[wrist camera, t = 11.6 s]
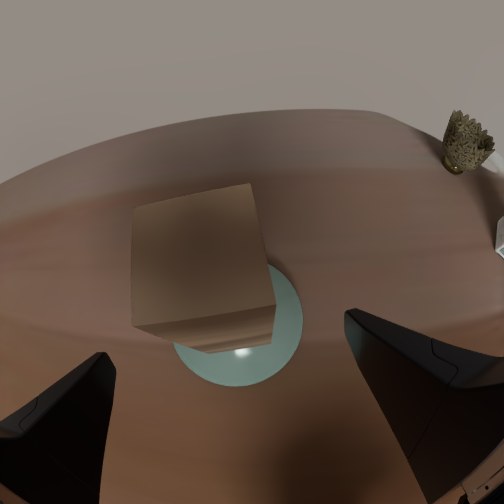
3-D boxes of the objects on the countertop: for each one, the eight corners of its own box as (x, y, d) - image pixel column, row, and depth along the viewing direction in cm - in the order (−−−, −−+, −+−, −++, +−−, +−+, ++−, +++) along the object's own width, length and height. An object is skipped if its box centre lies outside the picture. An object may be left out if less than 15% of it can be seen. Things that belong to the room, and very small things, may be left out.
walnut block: (270, 343, 20) (276, 304, 9) (208, 353, 20) (132, 326, 8) (259, 284, 22) (250, 183, 11) (200, 295, 22) (133, 207, 11)
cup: (465, 196, 27) (494, 159, 20) (424, 163, 30) (447, 121, 22) (473, 170, 29) (496, 136, 22) (437, 141, 32) (456, 104, 24)
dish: (277, 402, 20) (277, 404, 18) (157, 356, 22) (150, 355, 20) (315, 282, 24) (318, 277, 22) (202, 248, 26) (199, 241, 24)
